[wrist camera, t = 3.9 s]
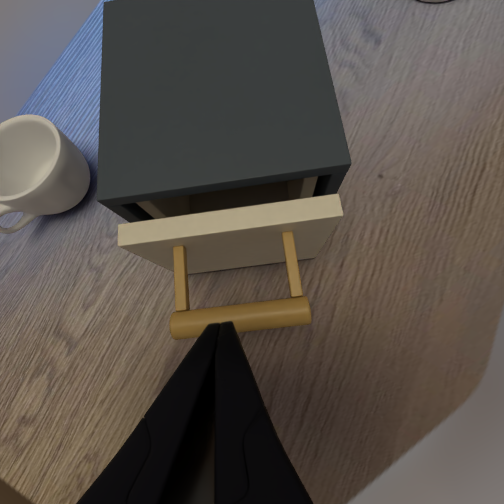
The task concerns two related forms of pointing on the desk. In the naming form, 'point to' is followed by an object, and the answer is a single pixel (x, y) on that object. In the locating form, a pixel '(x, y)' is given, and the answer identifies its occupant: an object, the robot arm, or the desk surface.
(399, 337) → the desk surface
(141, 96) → the cabinet
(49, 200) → the teacup
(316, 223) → the drawer
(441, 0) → the cup
